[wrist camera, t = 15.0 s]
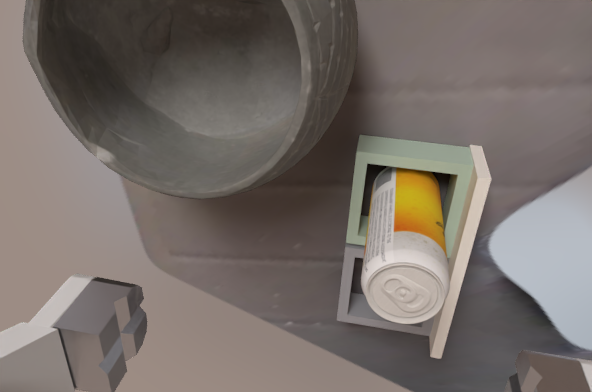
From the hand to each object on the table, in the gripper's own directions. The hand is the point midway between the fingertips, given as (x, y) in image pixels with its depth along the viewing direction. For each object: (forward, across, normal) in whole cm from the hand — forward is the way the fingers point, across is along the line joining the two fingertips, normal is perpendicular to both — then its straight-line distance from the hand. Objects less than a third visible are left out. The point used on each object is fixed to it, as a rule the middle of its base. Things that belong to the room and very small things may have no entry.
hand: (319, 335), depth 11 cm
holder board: (+34, -4, +20) cm, 40 cm away
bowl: (+34, +12, +1) cm, 36 cm away
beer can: (+34, -4, +15) cm, 38 cm away
